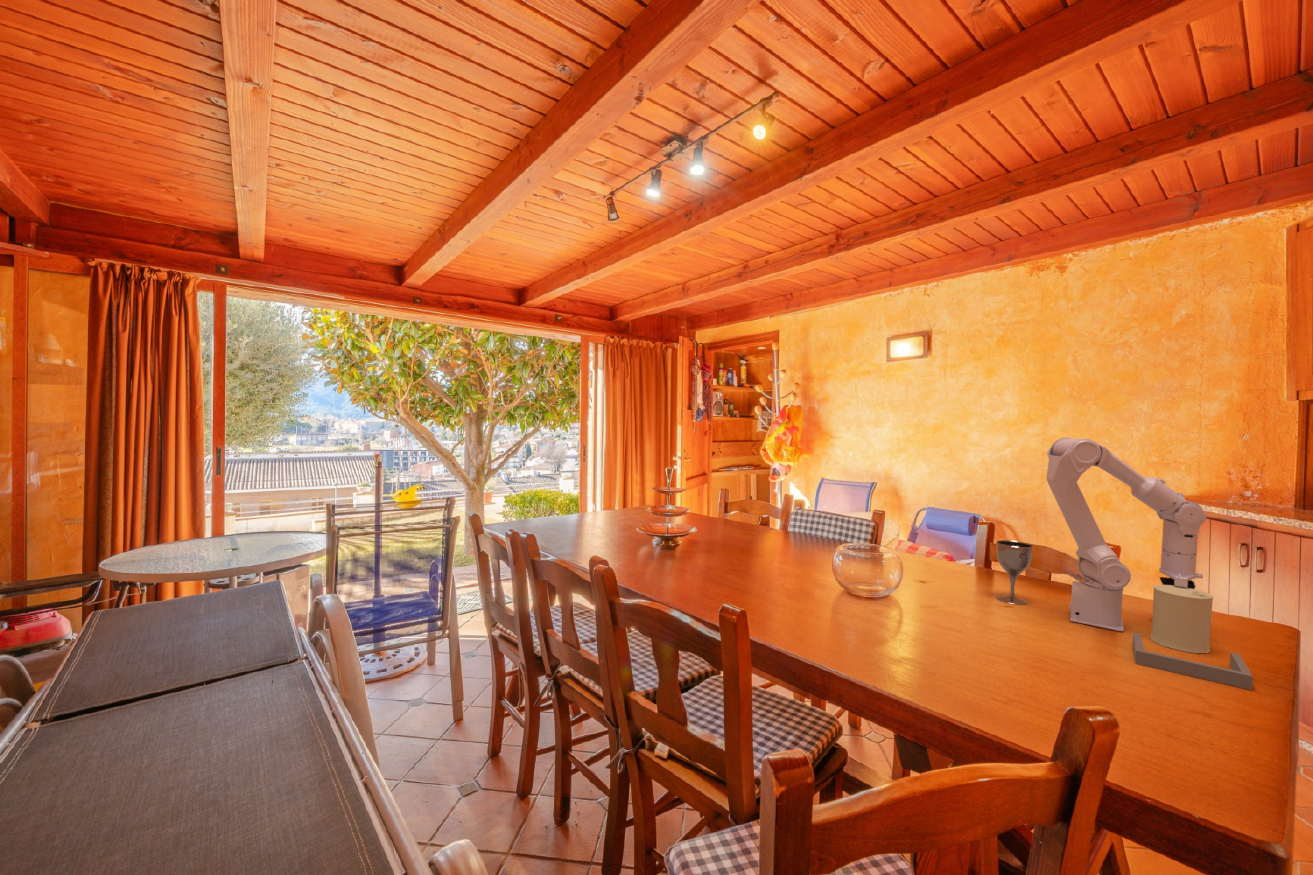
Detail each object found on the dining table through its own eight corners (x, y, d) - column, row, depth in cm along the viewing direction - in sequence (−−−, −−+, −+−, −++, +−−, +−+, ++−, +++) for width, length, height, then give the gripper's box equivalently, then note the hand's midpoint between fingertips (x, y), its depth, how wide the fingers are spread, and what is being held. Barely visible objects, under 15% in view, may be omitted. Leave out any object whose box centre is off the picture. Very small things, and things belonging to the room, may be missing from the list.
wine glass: (1031, 607, 135) (1034, 548, 135) (994, 601, 140) (996, 544, 139) (1029, 598, 142) (1031, 542, 142) (993, 593, 146) (996, 538, 146)
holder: (1135, 663, 104) (1135, 650, 104) (1132, 644, 114) (1133, 632, 114) (1251, 690, 95) (1252, 676, 94) (1238, 666, 104) (1239, 654, 104)
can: (1199, 657, 108) (1203, 598, 108) (1142, 639, 116) (1145, 585, 116) (1218, 649, 112) (1221, 592, 112) (1161, 633, 120) (1164, 580, 120)
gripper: (1208, 561, 113) (1205, 624, 114) (1199, 549, 125) (1195, 607, 125) (1163, 555, 118) (1159, 616, 118) (1157, 544, 129) (1154, 600, 130)
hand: (1175, 611), depth 122 cm, fingers closed
